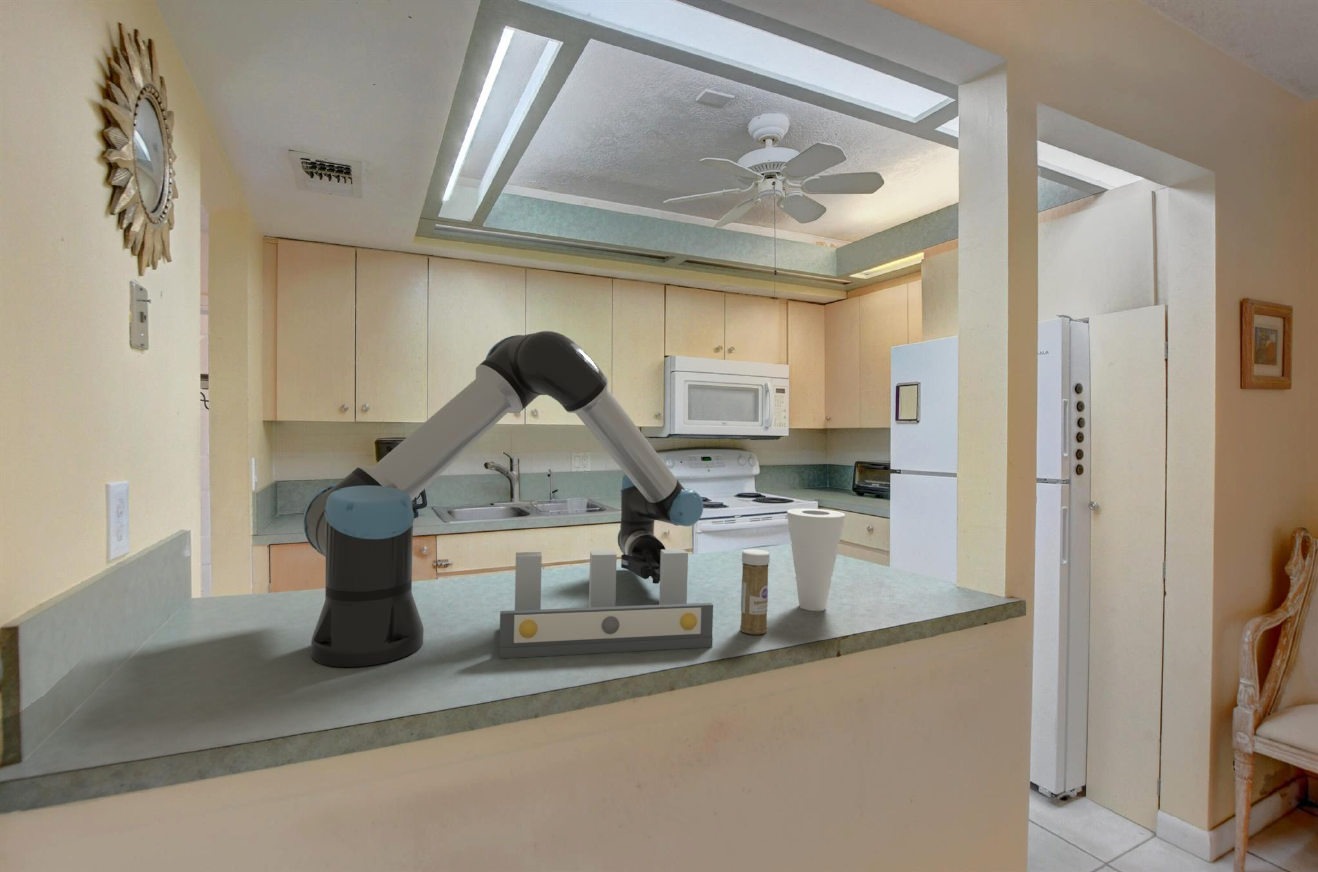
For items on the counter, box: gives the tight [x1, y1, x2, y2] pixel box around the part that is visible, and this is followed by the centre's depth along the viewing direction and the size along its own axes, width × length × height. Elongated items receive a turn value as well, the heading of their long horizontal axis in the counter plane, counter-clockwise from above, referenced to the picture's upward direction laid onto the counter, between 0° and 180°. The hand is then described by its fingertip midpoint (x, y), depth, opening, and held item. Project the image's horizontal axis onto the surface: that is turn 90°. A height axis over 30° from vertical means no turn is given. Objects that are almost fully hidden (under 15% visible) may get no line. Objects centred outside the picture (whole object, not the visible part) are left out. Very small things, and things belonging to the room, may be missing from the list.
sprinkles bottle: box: [739, 548, 771, 636], centre depth 105 cm, size 5×5×14 cm
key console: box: [498, 602, 714, 660], centre depth 100 cm, size 32×13×6 cm, turn 102°
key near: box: [514, 551, 543, 610], centre depth 101 cm, size 4×3×11 cm
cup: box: [786, 507, 846, 612], centre depth 119 cm, size 11×11×18 cm
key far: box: [658, 548, 689, 605], centre depth 106 cm, size 4×3×11 cm
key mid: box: [588, 550, 618, 608], centre depth 104 cm, size 4×3×11 cm
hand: (672, 582), depth 109 cm, fingers closed
